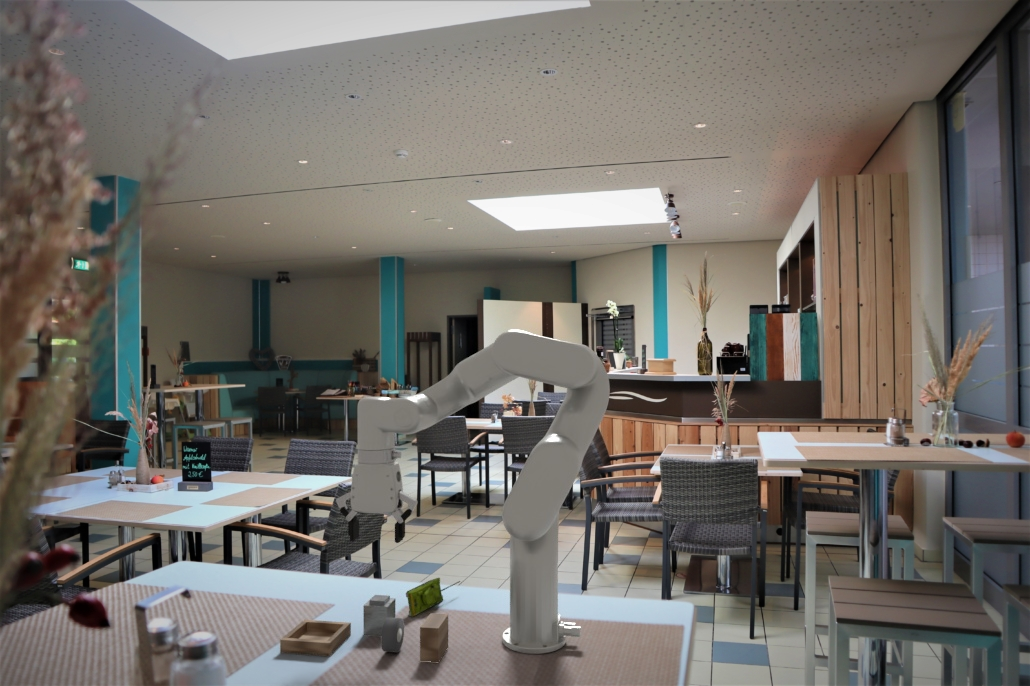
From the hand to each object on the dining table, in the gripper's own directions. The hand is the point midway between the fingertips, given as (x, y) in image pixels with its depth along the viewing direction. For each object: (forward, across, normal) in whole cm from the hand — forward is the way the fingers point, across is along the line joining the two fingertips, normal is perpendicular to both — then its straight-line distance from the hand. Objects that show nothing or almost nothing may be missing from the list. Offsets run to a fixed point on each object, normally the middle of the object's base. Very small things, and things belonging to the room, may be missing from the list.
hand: (376, 540), depth 143 cm
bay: (+18, +9, +8) cm, 22 cm away
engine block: (+19, -1, 0) cm, 19 cm away
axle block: (+19, -15, +9) cm, 25 cm away
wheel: (+19, -7, +9) cm, 22 cm away
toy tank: (+19, -8, -16) cm, 26 cm away
